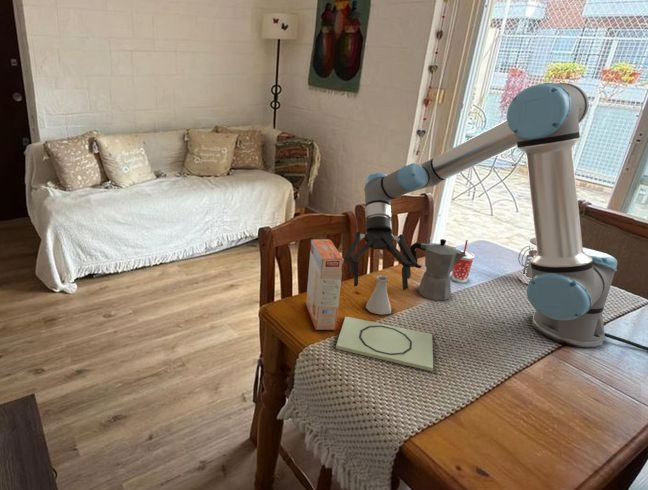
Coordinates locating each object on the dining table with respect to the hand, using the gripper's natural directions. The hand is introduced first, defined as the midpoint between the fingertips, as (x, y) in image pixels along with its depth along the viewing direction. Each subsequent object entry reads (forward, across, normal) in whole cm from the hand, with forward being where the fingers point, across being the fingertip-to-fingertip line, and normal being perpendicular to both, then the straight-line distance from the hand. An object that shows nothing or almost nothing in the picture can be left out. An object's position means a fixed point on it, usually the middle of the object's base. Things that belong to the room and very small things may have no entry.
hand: (380, 286), depth 125 cm
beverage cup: (-12, -30, -22) cm, 39 cm away
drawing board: (+17, +1, +8) cm, 19 cm away
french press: (-14, -53, -24) cm, 60 cm away
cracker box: (+11, +17, +1) cm, 20 cm away
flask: (+5, 0, -4) cm, 7 cm away
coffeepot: (-4, -18, -14) cm, 23 cm away
